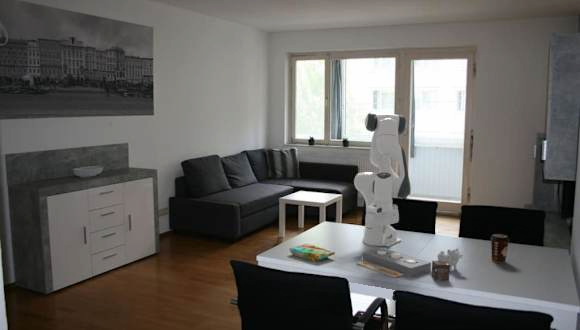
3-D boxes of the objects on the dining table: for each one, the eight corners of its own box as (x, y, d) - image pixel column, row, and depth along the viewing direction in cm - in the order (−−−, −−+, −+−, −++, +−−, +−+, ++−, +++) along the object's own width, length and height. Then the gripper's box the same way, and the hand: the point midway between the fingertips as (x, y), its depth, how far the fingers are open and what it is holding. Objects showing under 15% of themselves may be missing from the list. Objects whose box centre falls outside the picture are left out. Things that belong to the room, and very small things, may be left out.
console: (382, 255, 260) (382, 247, 260) (430, 270, 236) (431, 262, 236) (362, 260, 252) (362, 252, 251) (410, 276, 228) (411, 268, 228)
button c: (409, 265, 240) (410, 259, 239) (417, 267, 236) (417, 261, 236) (403, 267, 237) (403, 260, 237) (411, 269, 234) (411, 263, 233)
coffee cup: (507, 259, 255) (509, 234, 253) (508, 264, 247) (510, 238, 246) (488, 258, 258) (490, 232, 256) (489, 262, 250) (491, 236, 248)
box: (431, 276, 229) (431, 260, 228) (444, 276, 230) (444, 260, 229) (436, 281, 223) (436, 264, 222) (449, 280, 224) (450, 264, 223)
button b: (395, 258, 247) (395, 252, 246) (402, 260, 243) (402, 254, 243) (389, 259, 244) (389, 253, 244) (396, 262, 241) (396, 256, 240)
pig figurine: (456, 273, 233) (457, 251, 232) (435, 266, 244) (436, 244, 242) (464, 272, 236) (465, 249, 234) (443, 264, 246) (444, 242, 245)
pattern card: (365, 261, 249) (365, 260, 249) (403, 275, 230) (404, 273, 230) (356, 264, 245) (356, 262, 245) (394, 278, 226) (395, 276, 226)
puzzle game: (305, 242, 267) (335, 250, 253) (305, 250, 267) (334, 259, 253) (289, 246, 259) (319, 254, 245) (289, 255, 259) (318, 264, 245)
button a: (381, 256, 254) (381, 250, 254) (388, 258, 251) (388, 252, 250) (375, 257, 251) (375, 251, 251) (381, 259, 248) (382, 253, 248)
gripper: (392, 202, 257) (391, 229, 259) (363, 208, 245) (362, 236, 247) (402, 204, 252) (401, 231, 254) (373, 210, 240) (372, 239, 242)
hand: (382, 234), depth 250 cm, fingers closed
